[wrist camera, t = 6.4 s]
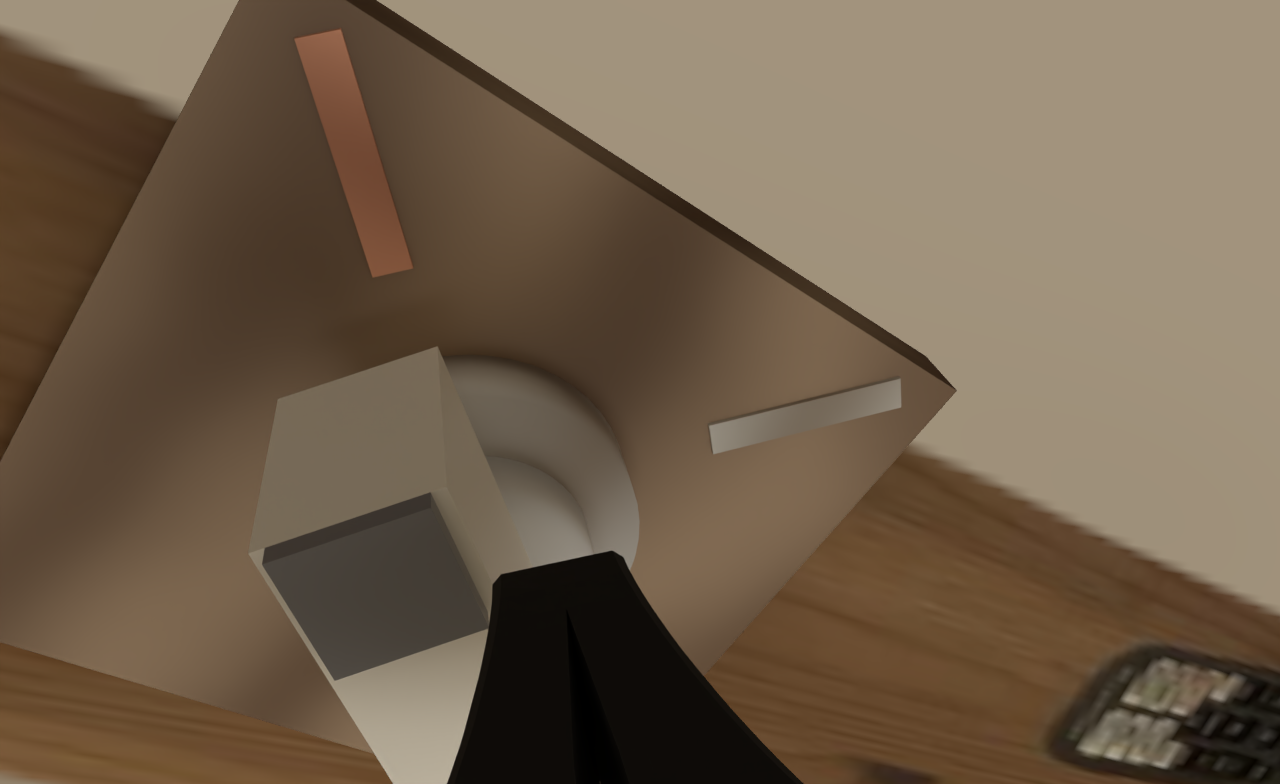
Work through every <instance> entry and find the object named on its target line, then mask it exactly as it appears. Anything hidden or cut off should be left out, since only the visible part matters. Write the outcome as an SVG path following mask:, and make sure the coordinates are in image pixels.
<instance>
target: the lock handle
mask: <svg viewBox="0 0 1280 784" xmlns="http://www.w3.org/2000/svg"><path fill="white" fill-rule="evenodd" d="M248 554H249V556H250V557H251V559H252V561H253V562H254V564H255V565H256V567H257V568H258V570H259V572H260V573H261V575H262V576H263V578H264V580H265V581H266V583H267V584H268V586H269V587H270V589H271V591H272V592H273V594H274V595H275V597H276V599H277V600H278V602H279V603H280V605H281V606H282V608H283V610H284V611H285V613H286V614H287V616H288V618H289V619H290V621H291V622H292V624H293V626H294V627H295V629H296V630H297V632H298V633H299V635H300V637H301V638H302V640H303V641H304V643H305V645H306V646H307V648H308V649H309V651H310V652H311V654H312V656H313V657H314V659H315V660H316V662H317V664H318V665H319V667H320V668H321V670H322V671H323V673H324V675H325V676H326V678H327V679H328V681H329V683H330V684H331V686H332V687H333V689H334V690H335V692H336V694H337V695H338V697H339V698H340V700H341V702H342V703H343V705H344V706H345V708H346V710H347V711H348V713H349V714H350V716H351V717H352V719H353V721H354V722H355V724H356V725H357V727H358V729H359V730H360V732H361V733H362V735H363V736H364V738H365V740H366V741H367V743H368V744H369V746H370V748H371V749H372V751H373V752H374V754H375V755H376V757H377V759H378V760H379V762H380V763H381V765H382V767H383V768H384V770H385V771H386V773H387V774H388V776H389V778H390V779H391V781H392V782H393V784H447V782H448V779H449V776H450V773H451V770H452V768H453V765H454V762H455V759H456V756H457V753H458V750H459V747H460V743H461V740H462V737H463V734H464V730H465V726H466V723H467V719H468V715H469V711H470V708H471V704H472V700H473V696H474V693H475V689H476V685H477V681H478V678H479V673H480V669H481V664H482V659H483V654H484V650H485V645H486V639H487V634H488V628H489V621H490V613H491V605H492V584H493V583H494V582H495V581H496V580H497V578H498V577H499V576H500V575H501V574H504V573H509V572H514V571H518V570H523V569H528V568H532V567H537V566H542V565H546V564H551V563H556V562H560V561H565V560H570V559H574V558H579V557H584V556H588V555H593V554H595V553H594V549H593V545H592V542H591V538H590V534H589V530H588V526H587V523H586V519H585V516H584V514H583V512H582V510H581V508H580V506H579V505H578V503H577V502H576V500H575V499H574V497H573V496H572V495H571V494H570V493H569V492H568V491H567V490H566V489H565V487H564V486H563V485H561V484H560V483H559V482H557V481H556V480H555V479H554V478H552V477H551V476H549V475H547V474H546V473H544V472H542V471H541V470H539V469H537V468H534V467H532V466H529V465H527V464H525V463H521V462H518V461H514V460H511V459H506V458H500V457H494V456H485V455H484V453H483V451H482V448H481V446H480V444H479V441H478V439H477V437H476V434H475V432H474V430H473V427H472V425H471V423H470V420H469V418H468V416H467V413H466V411H465V409H464V406H463V404H462V402H461V399H460V397H459V395H458V393H457V390H456V388H455V386H454V383H453V381H452V379H451V376H450V374H449V372H448V369H447V367H446V365H445V362H444V360H443V358H442V355H441V353H440V351H439V348H438V346H437V347H434V348H431V349H428V350H425V351H422V352H419V353H416V354H413V355H410V356H406V357H403V358H400V359H397V360H394V361H391V362H388V363H385V364H382V365H379V366H376V367H373V368H370V369H367V370H364V371H361V372H358V373H355V374H352V375H349V376H346V377H343V378H340V379H337V380H334V381H331V382H328V383H325V384H322V385H319V386H316V387H313V388H310V389H307V390H304V391H301V392H298V393H295V394H292V395H289V396H286V397H283V398H280V399H278V401H277V407H276V412H275V417H274V422H273V427H272V432H271V438H270V443H269V448H268V453H267V458H266V463H265V469H264V474H263V479H262V484H261V489H260V494H259V500H258V505H257V510H256V515H255V520H254V525H253V531H252V536H251V541H250V546H249V551H248Z"/></svg>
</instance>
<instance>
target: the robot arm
mask: <svg viewBox="0 0 1280 784" xmlns="http://www.w3.org/2000/svg"><path fill="white" fill-rule="evenodd" d="M447 784H803V783H802V782H801V781H800V780H799V779H798V778H797V777H796V776H795V775H794V774H793V773H792V772H791V771H790V770H789V769H788V768H787V767H786V766H785V765H784V764H783V763H782V762H781V761H780V760H779V759H778V758H777V757H776V756H775V755H774V754H773V753H772V752H771V751H770V750H769V749H768V748H767V747H766V746H765V745H764V744H763V743H762V742H761V741H760V740H759V739H758V737H757V736H756V735H755V734H754V733H753V732H752V731H751V730H750V729H749V728H748V727H747V726H746V724H745V723H744V722H743V721H742V720H741V719H740V718H739V717H738V716H737V715H736V714H735V713H734V711H733V710H732V709H731V708H730V707H729V706H728V705H727V703H726V702H725V701H724V700H723V699H722V698H721V697H720V695H719V694H718V693H717V692H716V691H715V690H714V688H713V687H712V686H711V685H710V683H709V682H708V681H707V680H706V678H705V677H704V676H703V675H702V674H701V672H700V671H699V670H698V669H697V667H696V666H695V665H694V664H693V662H692V661H691V660H690V659H689V657H688V656H687V655H686V654H685V652H684V651H683V650H682V649H681V647H680V646H679V645H678V643H677V642H676V641H675V639H674V638H673V637H672V635H671V634H670V633H669V631H668V630H667V628H666V627H665V625H664V624H663V623H662V621H661V620H660V618H659V617H658V615H657V614H656V613H655V611H654V610H653V608H652V607H651V605H650V604H649V602H648V601H647V599H646V597H645V596H644V594H643V593H642V591H641V589H640V588H639V586H638V584H637V583H636V581H635V579H634V577H633V575H632V574H631V572H630V570H629V568H628V566H627V564H626V562H625V559H624V557H623V556H621V555H619V554H618V553H616V552H614V551H607V552H602V553H598V554H593V555H588V556H584V557H579V558H574V559H570V560H565V561H560V562H556V563H551V564H546V565H542V566H537V567H532V568H528V569H523V570H518V571H514V572H509V573H504V574H501V575H500V576H499V577H498V578H497V580H496V581H495V582H494V583H493V584H492V605H491V613H490V621H489V628H488V634H487V639H486V645H485V650H484V654H483V659H482V664H481V669H480V673H479V678H478V681H477V685H476V689H475V693H474V696H473V700H472V704H471V708H470V711H469V715H468V719H467V723H466V726H465V730H464V734H463V737H462V740H461V743H460V747H459V750H458V753H457V756H456V759H455V762H454V765H453V768H452V770H451V773H450V776H449V779H448V782H447Z"/></svg>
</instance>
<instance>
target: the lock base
mask: <svg viewBox="0 0 1280 784" xmlns="http://www.w3.org/2000/svg"><path fill="white" fill-rule="evenodd" d="M437 346H438V348H439V351H440V353H441V355H442V358H443V360H444V362H445V365H446V367H447V369H448V372H449V374H450V376H451V379H452V381H453V383H454V386H455V388H456V390H457V393H458V395H459V397H460V399H461V402H462V404H463V406H464V409H465V411H466V413H467V416H468V418H469V420H470V423H471V425H472V427H473V430H474V432H475V434H476V437H477V439H478V441H479V444H480V446H481V448H482V451H483V453H484V455H485V456H494V457H500V458H506V459H511V460H514V461H518V462H521V463H525V464H527V465H529V466H532V467H534V468H537V469H539V470H541V471H542V472H544V473H546V474H547V475H549V476H551V477H552V478H554V479H555V480H556V481H557V482H559V483H560V484H561V485H563V486H564V487H565V489H566V490H567V491H568V492H569V493H570V494H571V495H572V496H573V497H574V499H575V500H576V502H577V503H578V505H579V506H580V508H581V510H582V512H583V514H584V516H585V519H586V523H587V526H588V530H589V534H590V538H591V542H592V545H593V549H594V553H595V554H598V553H602V552H607V551H614V552H616V553H618V554H619V555H621V556H623V557H624V559H625V562H626V564H627V566H628V568H629V570H630V572H631V574H632V575H633V577H634V579H635V581H636V583H637V584H638V586H639V588H640V589H641V591H642V593H643V594H644V596H645V597H646V599H647V601H648V602H649V604H650V605H651V607H652V608H653V610H654V611H655V613H656V614H657V615H658V617H659V618H660V620H661V621H662V623H663V624H664V625H665V627H666V628H667V630H668V631H669V633H670V634H671V635H672V637H673V638H674V639H675V641H676V642H677V643H678V645H679V646H680V647H681V649H682V650H683V651H684V652H685V654H686V655H687V656H688V657H689V659H690V660H691V661H692V662H693V664H694V665H695V666H696V667H697V669H698V670H699V671H700V672H701V674H702V675H703V676H704V675H705V674H706V673H707V671H708V670H709V669H710V668H711V667H712V666H713V665H714V664H715V662H716V661H717V660H718V659H719V658H720V657H721V656H722V655H723V653H724V652H725V651H726V650H727V649H728V648H729V647H730V646H731V644H732V643H733V642H734V641H735V640H736V639H737V638H738V637H739V635H740V634H741V633H742V632H743V631H744V630H745V629H746V628H747V626H748V625H749V624H750V623H751V622H752V621H753V620H754V619H755V617H756V616H757V615H758V614H759V613H760V612H761V611H762V610H763V608H764V607H765V606H766V605H767V604H768V603H769V602H770V601H771V599H772V598H773V597H774V596H775V595H776V594H777V593H778V592H779V590H780V589H781V588H782V587H783V586H784V585H785V584H786V583H787V581H788V580H789V579H790V578H791V577H792V576H793V575H794V573H795V572H796V571H797V570H798V569H799V568H800V567H801V566H802V564H803V563H804V562H805V561H806V560H807V559H808V558H809V557H810V555H811V554H812V553H813V552H814V551H815V550H816V549H817V548H818V546H819V545H820V544H821V543H822V542H823V541H824V540H825V539H826V537H827V536H828V535H829V534H830V533H831V532H832V531H833V530H834V528H835V527H836V526H837V525H838V524H839V523H840V522H841V521H842V519H843V518H844V517H845V516H846V515H847V514H848V513H849V512H850V510H851V509H852V508H853V507H854V506H855V505H856V504H857V503H858V501H859V500H860V499H861V498H862V497H863V496H864V495H865V494H866V492H867V491H868V490H869V489H870V488H871V487H872V486H873V485H874V483H875V482H876V481H877V480H878V479H879V478H880V477H881V475H882V474H883V473H884V472H885V471H886V470H887V469H888V468H889V466H890V465H891V464H892V463H893V462H894V461H895V460H896V459H897V457H898V456H899V455H900V454H901V453H902V452H903V451H904V450H905V448H906V447H907V446H908V445H909V444H910V443H911V442H912V441H913V439H914V438H915V437H916V436H917V435H918V434H919V433H920V431H921V430H922V429H923V428H924V427H925V426H926V425H927V424H928V423H929V421H930V420H931V419H932V418H933V417H934V416H935V415H936V413H937V412H938V411H939V410H940V409H941V408H942V407H943V406H944V405H945V403H946V402H947V401H948V400H949V399H950V398H951V397H952V396H953V394H954V393H955V392H956V389H955V388H954V387H953V386H952V385H951V384H950V383H949V382H948V380H947V379H946V378H945V377H944V376H943V375H942V374H941V373H940V371H939V370H938V369H937V368H936V367H935V366H934V365H933V364H932V363H931V362H930V361H929V359H928V358H927V357H926V356H924V355H923V354H921V353H920V352H918V351H917V350H915V349H913V348H912V347H911V346H909V345H907V344H906V343H904V342H903V341H901V340H900V339H898V338H897V337H895V336H893V335H892V334H891V333H889V332H887V331H886V330H884V329H883V328H881V327H880V326H878V325H877V324H875V323H874V322H872V321H870V320H869V319H867V318H866V317H864V316H863V315H861V314H859V313H858V312H856V311H855V310H853V309H852V308H850V307H849V306H847V305H846V304H844V303H843V302H841V301H840V300H838V299H837V298H835V297H833V296H832V295H830V294H829V293H827V292H826V291H824V290H823V289H821V288H820V287H818V286H816V285H815V284H813V283H812V282H810V281H809V280H807V279H806V278H804V277H803V276H801V275H799V274H798V273H796V272H795V271H793V270H792V269H790V268H789V267H787V266H786V265H784V264H782V263H781V262H779V261H778V260H776V259H775V258H773V257H772V256H770V255H769V254H767V253H766V252H764V251H762V250H761V249H759V248H758V247H756V246H755V245H753V244H752V243H750V242H749V241H747V240H745V239H744V238H742V237H741V236H739V235H738V234H736V233H735V232H733V231H731V230H730V229H728V228H727V227H725V226H724V225H722V224H721V223H719V222H718V221H716V220H715V219H713V218H711V217H710V216H708V215H707V214H705V213H704V212H702V211H701V210H699V209H698V208H696V207H694V206H693V205H691V204H690V203H688V202H687V201H685V200H683V199H682V198H680V197H679V196H678V195H676V194H674V193H673V192H671V191H670V190H668V189H666V188H665V187H664V186H662V185H661V184H659V183H657V182H656V181H654V180H653V179H651V178H650V177H648V176H647V175H645V174H644V173H642V172H640V171H639V170H637V169H635V168H634V167H633V166H631V165H630V164H628V163H626V162H625V161H623V160H622V159H620V158H619V157H617V156H615V155H614V154H613V153H611V152H609V151H608V150H607V149H605V148H603V147H602V146H600V145H599V144H597V143H596V142H594V141H593V140H591V139H589V138H588V137H586V136H585V135H583V134H582V133H580V132H579V131H577V130H576V129H574V128H572V127H571V126H569V125H568V124H566V123H565V122H563V121H562V120H560V119H559V118H557V117H555V116H554V115H552V114H551V113H549V112H548V111H546V110H545V109H543V108H542V107H540V106H539V105H537V104H535V103H534V102H532V101H531V100H529V99H528V98H526V97H525V96H523V95H521V94H520V93H519V92H517V91H515V90H514V89H512V88H511V87H509V86H508V85H506V84H505V83H503V82H501V81H500V80H498V79H497V78H495V77H494V76H492V75H491V74H489V73H488V72H486V71H485V70H483V69H481V68H480V67H478V66H477V65H475V64H474V63H472V62H471V61H469V60H467V59H466V58H464V57H463V56H461V55H460V54H458V53H457V52H455V51H454V50H452V49H450V48H449V47H448V46H446V45H444V44H443V43H441V42H440V41H438V40H437V39H435V38H434V37H432V36H431V35H429V34H427V33H426V32H424V31H423V30H421V29H419V28H418V27H417V26H415V25H413V24H412V23H410V22H409V21H407V20H406V19H404V18H403V17H401V16H400V15H398V14H397V13H395V12H393V11H392V10H390V9H389V8H387V7H386V6H384V5H383V4H381V3H379V2H378V1H377V0H239V1H238V4H237V5H236V7H235V9H234V11H233V13H232V15H231V17H230V19H229V21H228V23H227V25H226V27H225V28H224V30H223V32H222V34H221V36H220V38H219V40H218V42H217V44H216V46H215V48H214V50H213V52H212V54H211V55H210V58H209V59H208V61H207V63H206V65H205V67H204V69H203V71H202V73H201V75H200V77H199V79H198V81H197V83H196V84H195V86H194V88H193V90H192V92H191V94H190V96H189V98H188V100H187V102H186V104H185V106H184V108H183V110H182V111H181V113H180V115H179V117H178V119H177V121H176V123H175V125H174V127H173V129H172V131H171V133H170V135H169V137H168V139H167V140H166V142H165V144H164V146H163V148H162V150H161V152H160V154H159V156H158V158H157V160H156V162H155V164H154V166H153V167H152V169H151V171H150V173H149V175H148V177H147V179H146V181H145V183H144V185H143V187H142V189H141V191H140V193H139V195H138V196H137V198H136V200H135V202H134V204H133V206H132V208H131V210H130V212H129V214H128V216H127V218H126V220H125V222H124V224H123V225H122V227H121V229H120V231H119V233H118V235H117V237H116V239H115V241H114V243H113V245H112V247H111V249H110V251H109V253H108V254H107V256H106V258H105V260H104V262H103V264H102V266H101V268H100V270H99V272H98V274H97V276H96V278H95V280H94V281H93V283H92V285H91V287H90V289H89V291H88V293H87V295H86V297H85V299H84V301H83V303H82V305H81V307H80V309H79V310H78V312H77V314H76V316H75V318H74V320H73V322H72V324H71V326H70V328H69V330H68V332H67V334H66V336H65V338H64V339H63V341H62V343H61V345H60V347H59V349H58V351H57V353H56V355H55V357H54V359H53V361H52V363H51V365H50V367H49V368H48V370H47V372H46V374H45V376H44V378H43V380H42V382H41V384H40V386H39V388H38V390H37V392H36V394H35V395H34V397H33V399H32V401H31V403H30V405H29V407H28V409H27V411H26V413H25V415H24V417H23V419H22V421H21V423H20V424H19V426H18V428H17V430H16V432H15V434H14V436H13V438H12V440H11V442H10V444H9V446H8V448H7V450H6V452H5V453H4V455H3V457H2V459H1V461H0V642H1V643H5V644H8V645H11V646H15V647H18V648H21V649H25V650H28V651H32V652H35V653H38V654H42V655H45V656H48V657H52V658H55V659H58V660H62V661H65V662H68V663H72V664H75V665H78V666H82V667H85V668H88V669H92V670H95V671H98V672H102V673H105V674H109V675H112V676H115V677H119V678H122V679H125V680H129V681H132V682H135V683H139V684H142V685H145V686H149V687H152V688H155V689H159V690H162V691H165V692H169V693H172V694H176V695H179V696H182V697H186V698H189V699H192V700H196V701H199V702H202V703H206V704H209V705H212V706H216V707H219V708H222V709H226V710H229V711H232V712H236V713H239V714H242V715H246V716H249V717H253V718H256V719H259V720H263V721H266V722H269V723H273V724H276V725H279V726H283V727H286V728H289V729H293V730H296V731H299V732H303V733H306V734H309V735H313V736H316V737H320V738H323V739H326V740H330V741H333V742H336V743H340V744H343V745H346V746H350V747H353V748H356V749H360V750H363V751H366V752H370V753H373V754H374V752H373V751H372V749H371V748H370V746H369V744H368V743H367V741H366V740H365V738H364V736H363V735H362V733H361V732H360V730H359V729H358V727H357V725H356V724H355V722H354V721H353V719H352V717H351V716H350V714H349V713H348V711H347V710H346V708H345V706H344V705H343V703H342V702H341V700H340V698H339V697H338V695H337V694H336V692H335V690H334V689H333V687H332V686H331V684H330V683H329V681H328V679H327V678H326V676H325V675H324V673H323V671H322V670H321V668H320V667H319V665H318V664H317V662H316V660H315V659H314V657H313V656H312V654H311V652H310V651H309V649H308V648H307V646H306V645H305V643H304V641H303V640H302V638H301V637H300V635H299V633H298V632H297V630H296V629H295V627H294V626H293V624H292V622H291V621H290V619H289V618H288V616H287V614H286V613H285V611H284V610H283V608H282V606H281V605H280V603H279V602H278V600H277V599H276V597H275V595H274V594H273V592H272V591H271V589H270V587H269V586H268V584H267V583H266V581H265V580H264V578H263V576H262V575H261V573H260V572H259V570H258V568H257V567H256V565H255V564H254V562H253V561H252V559H251V557H250V556H249V554H248V551H249V546H250V541H251V536H252V531H253V525H254V520H255V515H256V510H257V505H258V500H259V494H260V489H261V484H262V479H263V474H264V469H265V463H266V458H267V453H268V448H269V443H270V438H271V432H272V427H273V422H274V417H275V412H276V407H277V401H278V399H280V398H283V397H286V396H289V395H292V394H295V393H298V392H301V391H304V390H307V389H310V388H313V387H316V386H319V385H322V384H325V383H328V382H331V381H334V380H337V379H340V378H343V377H346V376H349V375H352V374H355V373H358V372H361V371H364V370H367V369H370V368H373V367H376V366H379V365H382V364H385V363H388V362H391V361H394V360H397V359H400V358H403V357H406V356H410V355H413V354H416V353H419V352H422V351H425V350H428V349H431V348H434V347H437Z"/></svg>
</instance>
